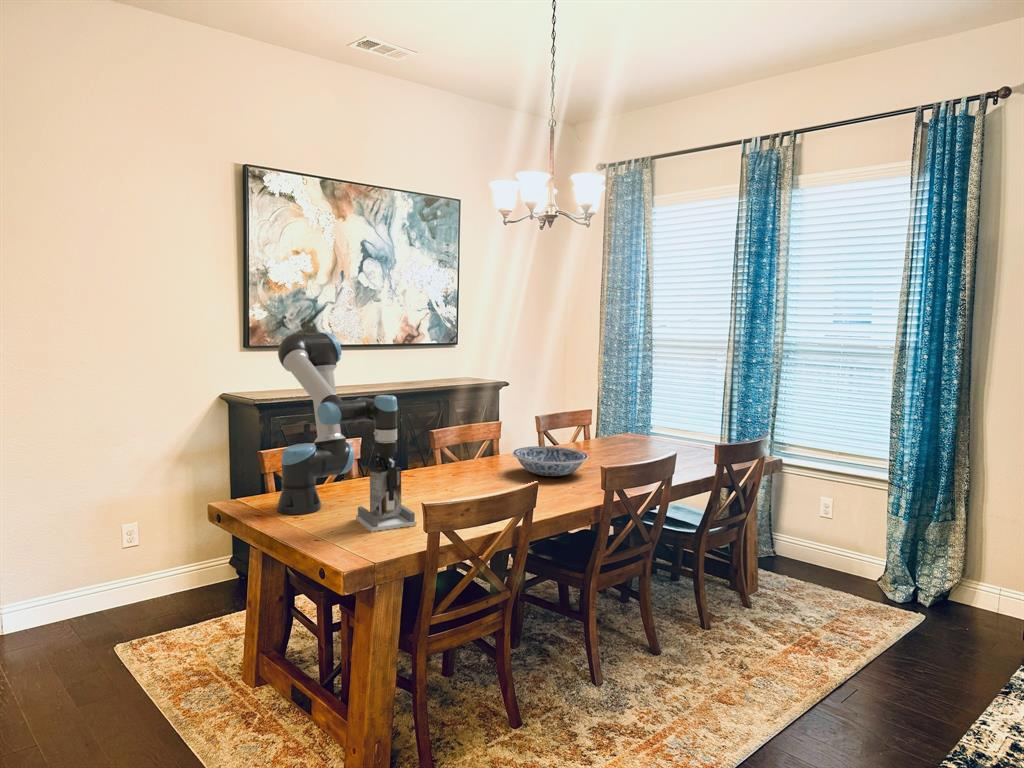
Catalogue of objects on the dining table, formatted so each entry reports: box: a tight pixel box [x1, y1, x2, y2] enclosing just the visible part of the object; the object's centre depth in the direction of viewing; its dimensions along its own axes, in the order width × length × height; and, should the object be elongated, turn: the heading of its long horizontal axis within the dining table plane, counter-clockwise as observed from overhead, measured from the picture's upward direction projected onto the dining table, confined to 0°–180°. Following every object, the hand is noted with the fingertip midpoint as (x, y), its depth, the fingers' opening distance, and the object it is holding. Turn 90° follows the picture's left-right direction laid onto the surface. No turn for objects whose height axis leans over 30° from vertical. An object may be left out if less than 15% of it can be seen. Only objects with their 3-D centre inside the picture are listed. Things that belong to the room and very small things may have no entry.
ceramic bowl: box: [512, 445, 589, 477], centre depth 321 cm, size 34×34×10 cm
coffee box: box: [369, 466, 402, 519], centre depth 242 cm, size 9×6×16 cm
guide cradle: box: [355, 504, 417, 533], centre depth 243 cm, size 16×16×4 cm
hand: (385, 506), depth 242 cm, fingers closed on coffee box, 8 cm apart
